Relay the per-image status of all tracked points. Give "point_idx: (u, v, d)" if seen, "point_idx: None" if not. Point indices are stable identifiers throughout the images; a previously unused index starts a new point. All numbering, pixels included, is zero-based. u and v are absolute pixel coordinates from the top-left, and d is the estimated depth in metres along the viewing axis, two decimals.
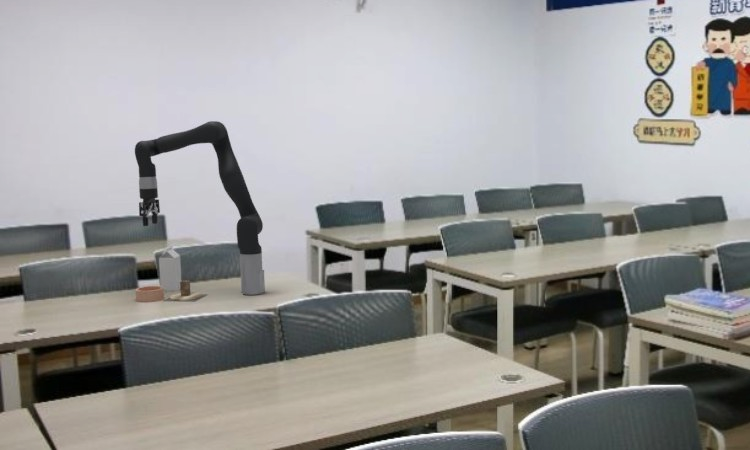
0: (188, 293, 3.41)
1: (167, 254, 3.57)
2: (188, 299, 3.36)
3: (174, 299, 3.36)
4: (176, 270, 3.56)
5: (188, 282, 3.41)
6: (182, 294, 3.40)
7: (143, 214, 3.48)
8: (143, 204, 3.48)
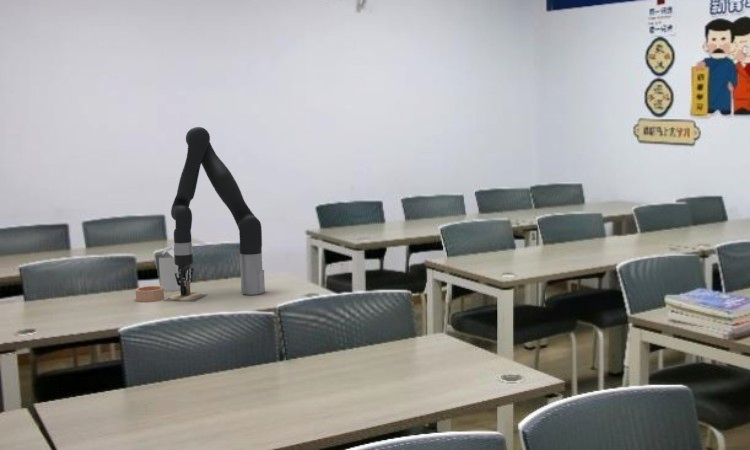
0: (188, 293, 3.41)
1: (167, 254, 3.57)
2: (188, 299, 3.36)
3: (174, 299, 3.36)
4: (176, 270, 3.56)
5: (188, 282, 3.41)
6: None
7: (181, 283, 3.36)
8: (179, 276, 3.34)
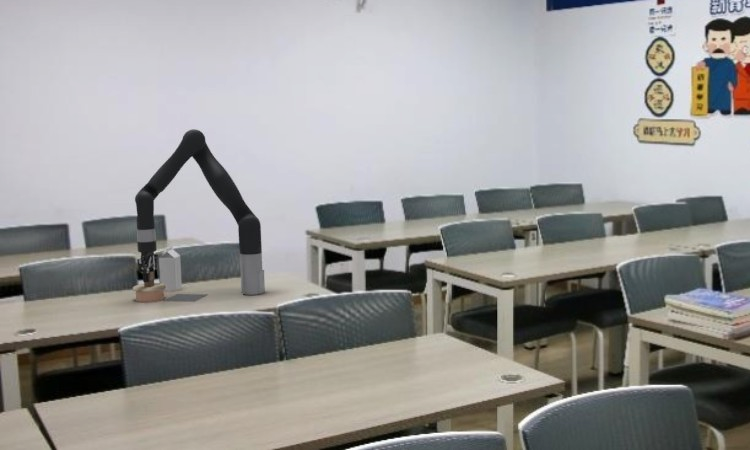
0: (152, 284, 3.39)
1: (167, 254, 3.57)
2: (151, 290, 3.34)
3: (137, 290, 3.35)
4: (176, 270, 3.56)
5: (152, 273, 3.39)
6: (145, 285, 3.39)
7: (143, 270, 3.34)
8: (142, 261, 3.32)
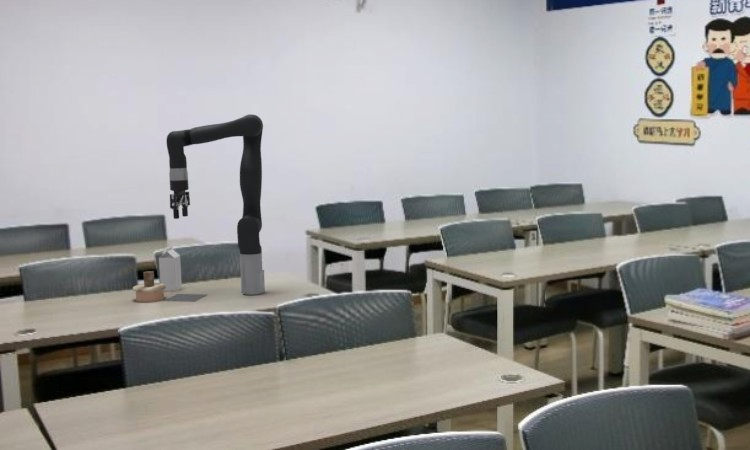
0: (152, 284, 3.39)
1: (167, 254, 3.57)
2: (151, 290, 3.34)
3: (137, 290, 3.35)
4: (176, 270, 3.56)
5: (152, 273, 3.39)
6: (145, 285, 3.39)
7: (174, 206, 3.39)
8: (174, 196, 3.38)
